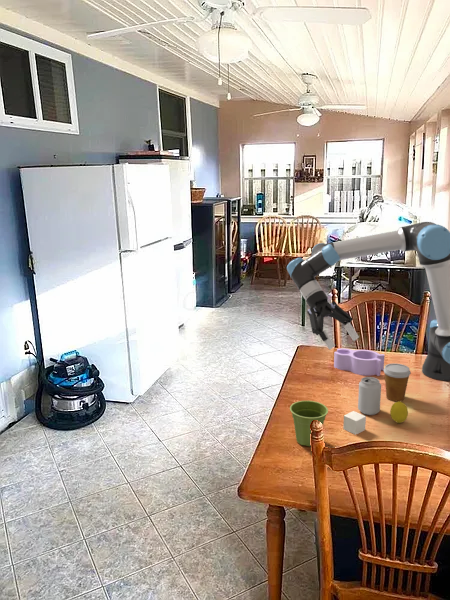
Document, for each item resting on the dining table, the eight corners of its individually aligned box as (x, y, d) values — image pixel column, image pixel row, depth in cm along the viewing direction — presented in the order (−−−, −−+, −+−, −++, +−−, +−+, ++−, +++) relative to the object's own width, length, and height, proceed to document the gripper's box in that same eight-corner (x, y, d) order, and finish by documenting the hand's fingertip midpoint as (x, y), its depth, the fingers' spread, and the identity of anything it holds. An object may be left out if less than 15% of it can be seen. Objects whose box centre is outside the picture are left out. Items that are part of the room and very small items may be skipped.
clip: (330, 370, 213) (331, 355, 211) (339, 360, 223) (339, 345, 221) (378, 378, 203) (379, 362, 201) (385, 367, 214) (385, 352, 212)
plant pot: (313, 455, 150) (314, 421, 147) (282, 442, 158) (282, 409, 155) (334, 439, 158) (335, 407, 155) (303, 427, 166) (303, 396, 163)
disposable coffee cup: (414, 400, 183) (416, 370, 180) (392, 405, 180) (394, 374, 177) (397, 390, 191) (399, 361, 188) (376, 394, 188) (378, 365, 185)
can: (365, 404, 181) (366, 373, 178) (383, 411, 176) (385, 379, 173) (353, 411, 176) (355, 380, 173) (372, 418, 171) (374, 386, 168)
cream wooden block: (352, 424, 167) (353, 410, 166) (365, 430, 164) (365, 416, 162) (343, 429, 164) (343, 415, 163) (355, 435, 161) (356, 421, 159)
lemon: (408, 427, 164) (409, 405, 162) (390, 426, 165) (392, 404, 163) (405, 419, 169) (407, 398, 167) (388, 418, 170) (390, 397, 168)
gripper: (330, 295, 196) (359, 340, 189) (285, 306, 181) (315, 356, 174) (341, 284, 191) (372, 330, 183) (296, 295, 176) (327, 346, 168)
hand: (344, 343), depth 178 cm, fingers open, 13 cm apart
